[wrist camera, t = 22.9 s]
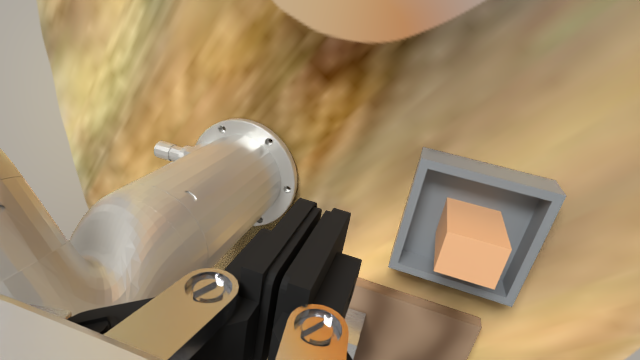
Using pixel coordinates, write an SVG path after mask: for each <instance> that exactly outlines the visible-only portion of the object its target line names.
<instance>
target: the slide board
mask: <svg viewBox="0 0 640 360" xmlns="http://www.w3.org/2000/svg"><path fill="white" fill-rule="evenodd" d="M349 308H351V309H354V310H356V311H359V312H362V313H365V314H366V316H365V319H364V323H363V326H362V330H361V334H360V337H359V341H358V344H357V348H356V351H355V355H354V358H353V360H467V358H468V356H469V354H470V352H471V349H472V347H473V345H474V343H475V341H476V338H477V336H478V334H479V332H480V330H481V328H482V327H481V319H480V318H479V317H476V316H473V315H470V314H467V313H464V312H461V311H458V310H455V309H452V308H449V307H446V306H443V305H440V304H437V303H434V302H431V301H428V300H424V299H421V298H418V297H415V296H412V295H409V294H406V293H403V292H400V291H397V290H394V289H391V288H388V287H385V286H382V285H379V284H376V283H373V282H370V281H367V280H364V279H361V278H357V281H356V285H355V289H354V292H353V295H352V299H351V302H350V305H349Z"/></svg>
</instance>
